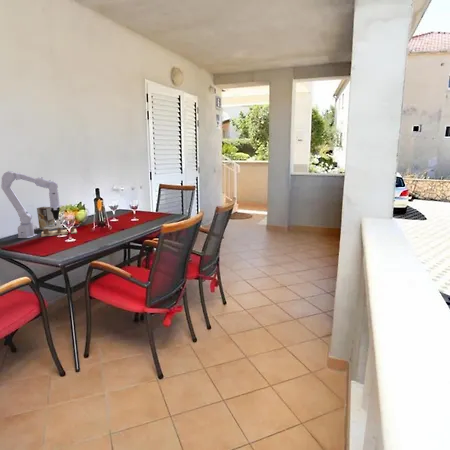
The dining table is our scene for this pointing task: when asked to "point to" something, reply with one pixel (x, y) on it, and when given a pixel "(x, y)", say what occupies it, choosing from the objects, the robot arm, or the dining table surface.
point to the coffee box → (45, 217)
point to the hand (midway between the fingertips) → (56, 218)
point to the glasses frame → (54, 225)
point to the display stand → (56, 232)
